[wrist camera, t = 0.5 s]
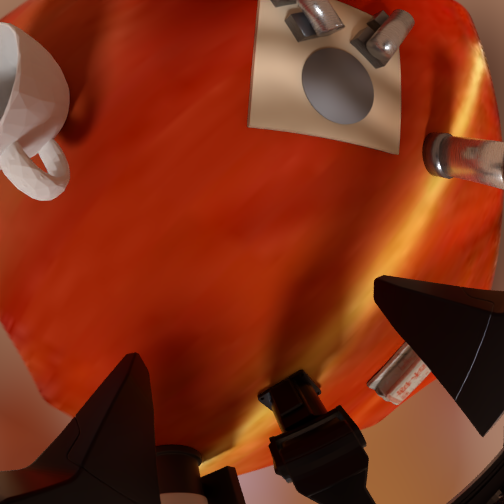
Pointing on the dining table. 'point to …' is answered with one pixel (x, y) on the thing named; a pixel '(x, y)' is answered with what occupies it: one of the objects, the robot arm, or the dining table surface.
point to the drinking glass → (465, 158)
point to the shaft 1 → (311, 19)
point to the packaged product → (399, 375)
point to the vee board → (323, 82)
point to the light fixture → (193, 479)
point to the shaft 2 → (383, 36)
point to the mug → (31, 115)
